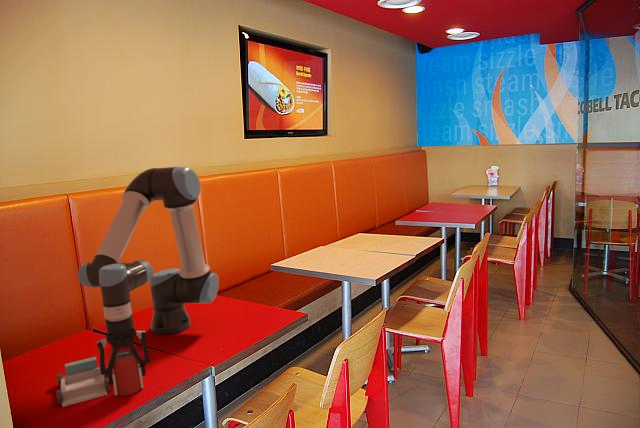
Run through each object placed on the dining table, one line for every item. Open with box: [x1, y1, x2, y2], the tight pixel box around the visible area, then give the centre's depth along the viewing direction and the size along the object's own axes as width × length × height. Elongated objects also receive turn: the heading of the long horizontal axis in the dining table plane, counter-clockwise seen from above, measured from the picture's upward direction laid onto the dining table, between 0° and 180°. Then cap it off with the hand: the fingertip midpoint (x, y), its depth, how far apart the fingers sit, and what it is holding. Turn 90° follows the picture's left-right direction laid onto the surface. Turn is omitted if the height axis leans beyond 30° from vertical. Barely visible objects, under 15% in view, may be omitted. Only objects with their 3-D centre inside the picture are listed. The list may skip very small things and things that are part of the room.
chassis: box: [56, 356, 111, 408], centre depth 152 cm, size 17×14×6 cm
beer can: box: [113, 349, 141, 397], centre depth 148 cm, size 7×7×12 cm
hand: (128, 389), depth 149 cm, fingers closed on beer can, 7 cm apart
